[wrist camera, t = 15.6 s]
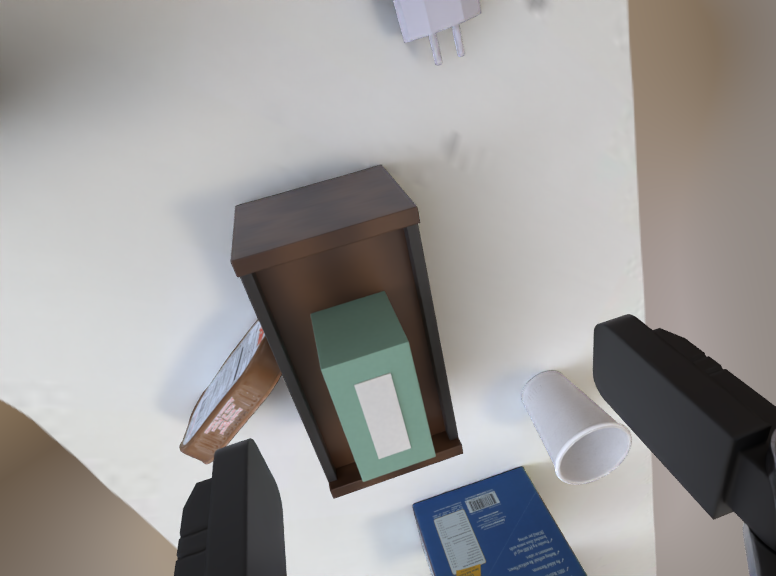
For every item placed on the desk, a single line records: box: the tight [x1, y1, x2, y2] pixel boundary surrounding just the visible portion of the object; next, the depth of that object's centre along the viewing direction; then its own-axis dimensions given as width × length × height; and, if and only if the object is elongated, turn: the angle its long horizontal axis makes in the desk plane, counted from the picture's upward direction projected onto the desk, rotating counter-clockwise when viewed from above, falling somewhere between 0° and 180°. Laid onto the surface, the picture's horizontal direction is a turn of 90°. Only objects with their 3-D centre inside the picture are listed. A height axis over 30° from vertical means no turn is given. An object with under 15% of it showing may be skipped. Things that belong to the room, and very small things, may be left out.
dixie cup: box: [521, 371, 632, 484], centre depth 52 cm, size 8×8×10 cm
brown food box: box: [180, 320, 282, 464], centre depth 41 cm, size 15×3×8 cm, turn 142°
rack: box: [231, 165, 463, 498], centre depth 40 cm, size 12×24×10 cm, turn 12°
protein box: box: [413, 467, 587, 576], centre depth 58 cm, size 10×15×16 cm
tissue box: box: [310, 291, 436, 482], centre depth 35 cm, size 6×11×7 cm, turn 12°
